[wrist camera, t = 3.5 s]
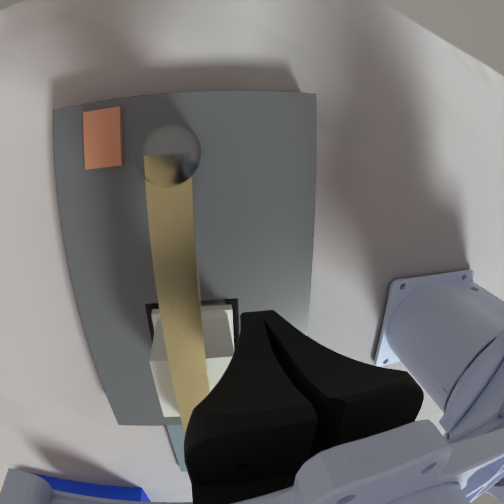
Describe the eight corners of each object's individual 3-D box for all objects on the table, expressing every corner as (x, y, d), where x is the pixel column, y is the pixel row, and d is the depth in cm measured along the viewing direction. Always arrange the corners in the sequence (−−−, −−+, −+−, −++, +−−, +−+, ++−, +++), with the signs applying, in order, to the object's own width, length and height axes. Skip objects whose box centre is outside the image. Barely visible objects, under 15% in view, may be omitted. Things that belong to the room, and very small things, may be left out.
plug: (228, 289, 20) (241, 350, 14) (232, 371, 22) (244, 438, 16) (156, 293, 20) (141, 356, 13) (170, 375, 22) (166, 443, 16)
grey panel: (304, 98, 17) (318, 93, 15) (291, 396, 24) (299, 416, 22) (66, 112, 15) (49, 109, 13) (122, 407, 22) (117, 428, 20)
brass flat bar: (200, 129, 15) (200, 118, 9) (214, 372, 19) (224, 451, 13) (159, 131, 14) (133, 123, 8) (183, 374, 19) (184, 453, 13)
